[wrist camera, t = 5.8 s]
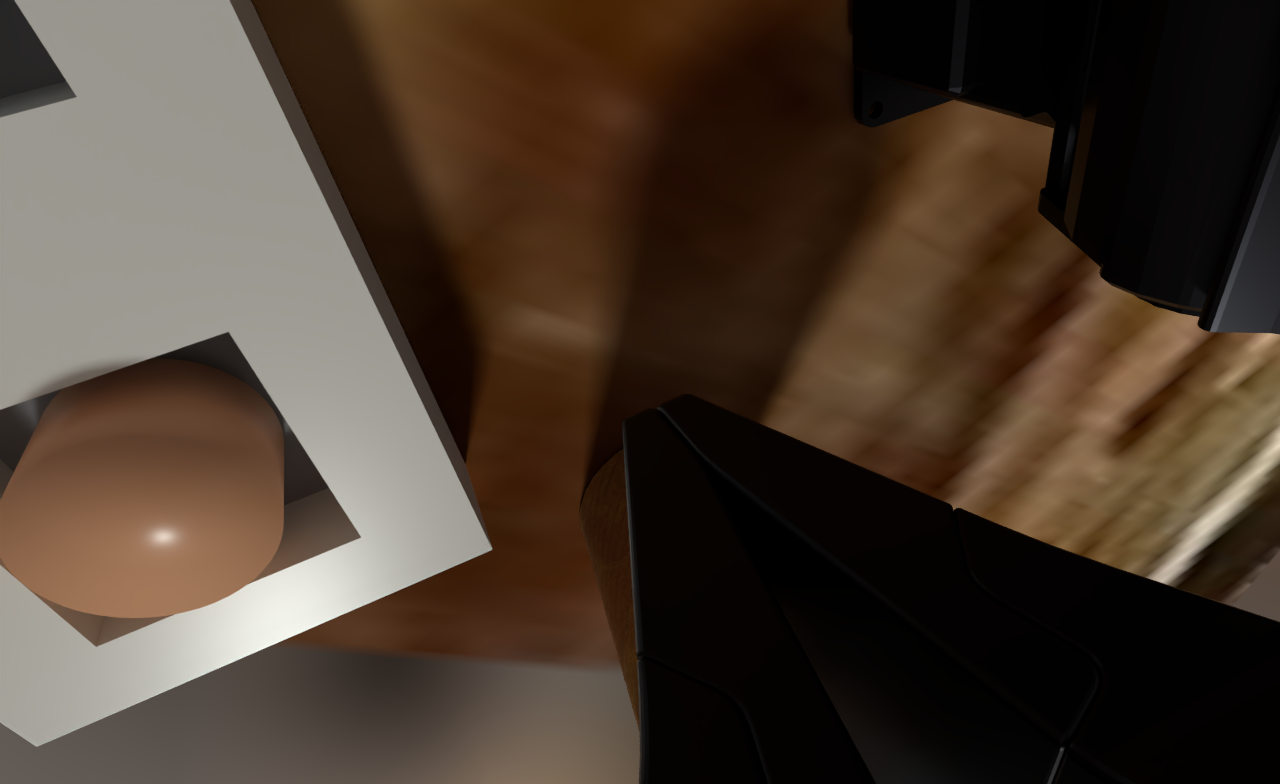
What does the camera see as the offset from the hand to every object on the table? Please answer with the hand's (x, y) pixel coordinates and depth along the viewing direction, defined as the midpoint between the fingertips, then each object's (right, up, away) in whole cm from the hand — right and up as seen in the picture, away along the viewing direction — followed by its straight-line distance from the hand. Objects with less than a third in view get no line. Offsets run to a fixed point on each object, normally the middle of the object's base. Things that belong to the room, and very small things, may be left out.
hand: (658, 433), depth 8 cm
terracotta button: (-12, -1, +9) cm, 15 cm away
